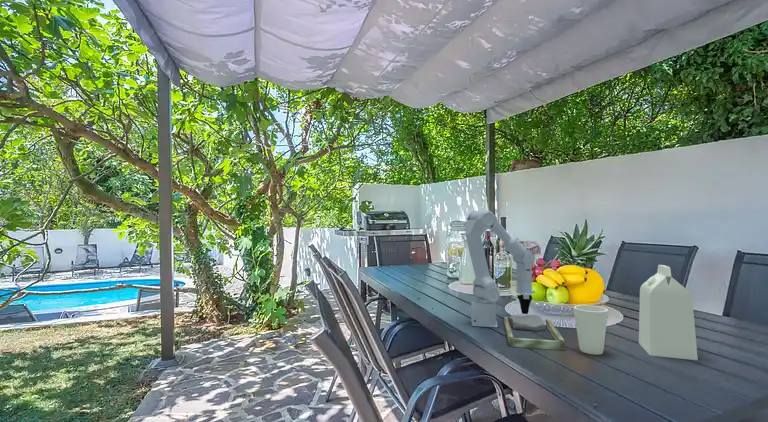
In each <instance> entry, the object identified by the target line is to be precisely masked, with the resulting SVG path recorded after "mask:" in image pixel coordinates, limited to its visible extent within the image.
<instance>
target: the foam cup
mask: <svg viewBox="0 0 768 422" xmlns="http://www.w3.org/2000/svg"><path fill="white" fill-rule="evenodd" d="M573 317H574V321H575V328H576V334H577V335H576V336H577V340H578V347H579V350H580V351H581V352H582V353H585V354H588V355H597V356H598V355H602V354H604V350H605V349H604V348H605V341H606V340H605V339H606V331H607V324H608V323H607V322H608V319H609V309H608V308H606V307H603V306H597V305H593V304H592V305H590V304H589V305H588V304H577V305H574V306H573Z"/></svg>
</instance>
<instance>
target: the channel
mask: <svg viewBox="0 0 768 422" xmlns="http://www.w3.org/2000/svg"><path fill="white" fill-rule="evenodd" d="M503 321H504V323H503V324H504V328H505V332H506V333H505V334H506V339H507V342H508V346H509V347H510V348H523V349H525V348H526V349H527V348H528V349H537V350H538V349H540V350H551V351H552V350H554V351H566V345H565V344H566V343H565V339H564V338H563V337H562V335H561V333H560V331H559V330H558V329H557V328H556V327H555V325H554V323H553V322H552V321H551V319H550V318H545V327H546V328H547V330H548V331H549V333H550V334H551V336H552V338H553V339H552V340H551V339H537V338H536V339H535V338H525V337H524V338H522V337H514V335H513V330H512V328H511V327H512V326H510V324H509V318H508V316H504V318H503Z"/></svg>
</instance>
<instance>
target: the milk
mask: <svg viewBox="0 0 768 422" xmlns="http://www.w3.org/2000/svg"><path fill="white" fill-rule="evenodd" d="M671 271H672V270H671V267H670V266H668V265H664V264H658V266H657V271H656V273H655V274H653V275H652V276H650V277H649V278H648V279H647V280H646V281H644V282H643V283H642V284H641V285H640V288H639V314H638V317H639V319H638V322H639V323H638V344H639V345H640V346H641V347H642V348H643V350H644V351H646V353H647V354H648V355H649V356H651V357H652V356H653V357H663V358H670V359H671V358H673V359H683V360H692V361H698V346H697V337H696V327H695V326H696V324H695V314H694V313H695V312H694V302H693V296H692V293H691V292H690V291H689V290H688V289H687V288H685V287H684V286H683V285H682V284H681V283H680V282H679V281H677V280H676V279H675V278H674V277H673V276H672V272H671Z"/></svg>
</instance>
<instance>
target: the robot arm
mask: <svg viewBox="0 0 768 422" xmlns="http://www.w3.org/2000/svg"><path fill="white" fill-rule="evenodd" d="M487 230H490V231H492V232H493V233H494V235H496V236H497V237H498V238H499V239H500V240H501V241H502V242H503V248H505V249H506V251H507V252H508V253H509V254H510V255H511V256H512V260H513V262H515V263H516V265H515V266H516V268H515V269H516V291H515V292H516V293H517V294H518V295H516V296H517V300H518V301H519V305H520V306H519V307H520V311H521V314H522V315H529V310H530V305H531V303H532V301H533V296H532V294H536V291H535V290H533V284H532V283H533V278H532V275H533V274H532V268H533V264H534V262H535V259H536V257H534V254H533V252H532V251H531V250H527V249H526V248H527V247H526V246H525V245H523V244H522V243H521V242H520V241H519V240H520V239H519V237H516V236H511V235H510V234H509V232H507V231H506V228H504V227H503V225H502V224H501V223H500V222H499V220H498V217H497V216H496V215H494V213H493V212H492V211H491V210H473V211H471V212H470V213H469V214H468V215H467V217H466V229H465V239H466V243H467V247H468V250H469V254H470V259H471V263H472V268H473V272H474V276H475V278H474V280H472V284H473V286H472V295H474V297H475V300H471V310H470V311H471V315H470V321H471V326H472V327H481V328H482V327H484V328H499V327H498V321H497V301H498V300H499V298H500V294H501V292H500V289H499V288H498V287H497V285H496V281H495V280H494V279H493V278H492V277H491V274H490V270H489V266H488V262H487V258H486V253H485V249H484V245H483V240H482V235H483V234H484V233H485V232H486V231H487Z"/></svg>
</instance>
